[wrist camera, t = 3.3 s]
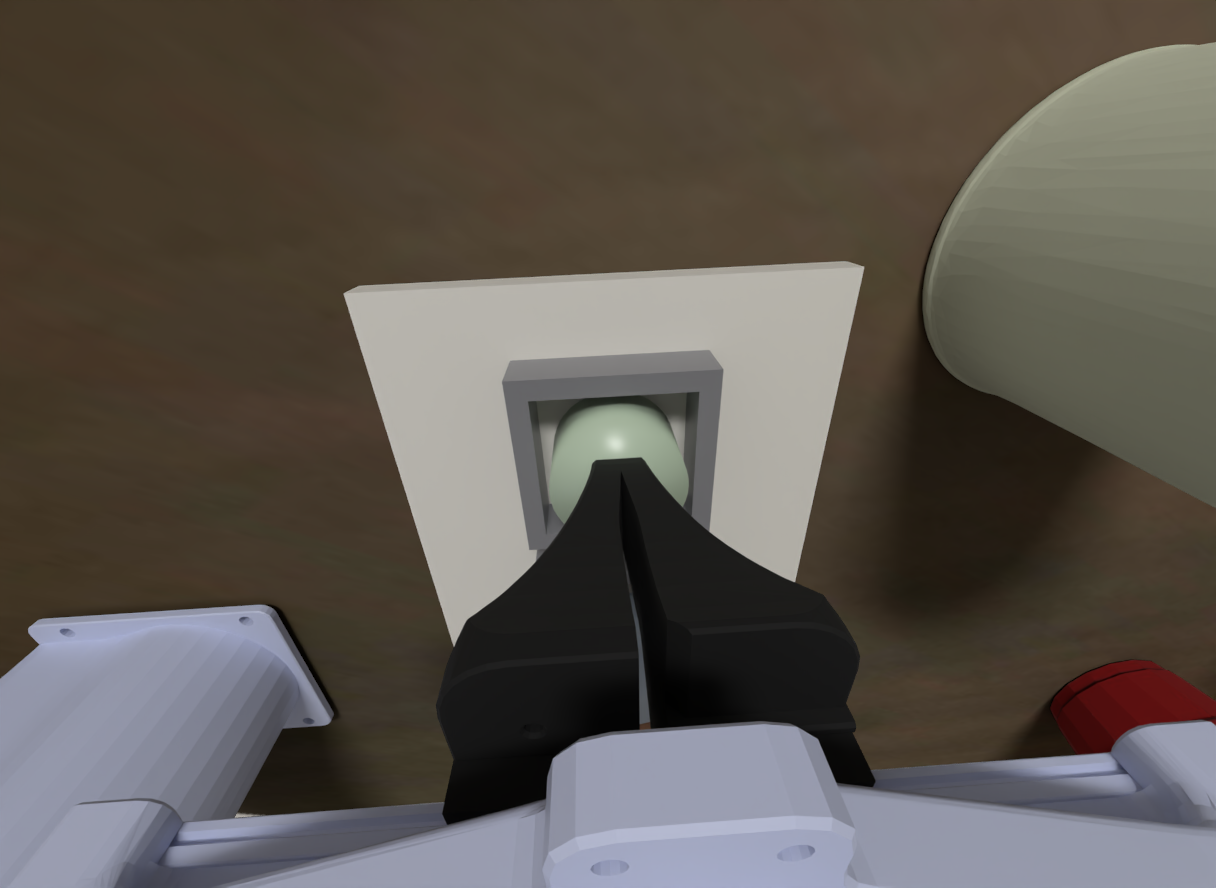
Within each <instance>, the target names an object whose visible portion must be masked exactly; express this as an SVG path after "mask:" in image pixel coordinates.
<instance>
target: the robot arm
mask: <svg viewBox="0 0 1216 888" xmlns="http://www.w3.org/2000/svg"><path fill="white" fill-rule="evenodd" d="M623 551H624V556H625V561H626V565H627V570H628V575H629V580H630V584H631V589H632V594H633V599H634V603H635V608H636V613H637V617H638V623H639V629H640V635H641V643H642V652H643V661H644V670H645V679H646V689H647V698H648V707H649V717H650V727H651V729H644V730H640V708H639V652H638V643H637V635H636V626H635V621H634V616H633V611H632V605H631V600H630V594H629V589H628V582H627V576H626V570H625V563H624V556H623ZM28 632H29V634H30V635H31V636H32V637H33V639H34V640H35V641H36V642H37V643H38V644H39V646H38V647H37V648H36V649H35V650H33V651H32V652H31V653H30V654H29V655H28V656H26V657H25V658H24V659H23V660H22V661H21V662H19V663H18V664H17V665H16V666H15V667H14V668H13V669H11V670H10V671H9V672H8V673H7V674H6V675H4V676H3V677H2V678H1V679H0V888H1216V726H1215V725H1214V724H1213V723H1212V722H1209V721H1205V720H1194V721H1180V722H1167V723H1153V724H1146V725H1141V726H1137V727H1135V728H1133V729H1130V730H1128V731H1127V732H1125V733H1124V734H1123V735H1122V736H1120V738H1119V739H1118V740H1117V741H1116V742H1115V744H1114V745H1113V747H1112V750H1111V752H1108V753H1095V754H1081V755H1068V756H1055V757H1041V758H1028V759H1014V760H1001V761H988V762H974V763H961V764H948V765H934V766H921V767H907V768H894V769H881V770H870V768H869V766H868V764H867V762H866V760H865V757H864V755H863V753H862V751H861V749H860V747H859V745H858V743H857V741H856V739H855V737H854V735H853V733H852V732H855V730H856V724H855V720H854V718H853V716H852V714H851V712H850V710H849V708H848V706H847V704H846V701H847V699H848V696H849V693H850V690H851V688H852V685H853V682H854V679H855V676H856V674H857V671H858V667H859V660H860V655H859V651H858V648H857V645H856V643H855V641H854V640H853V638H852V636H851V634H850V633H849V631H848V629H847V628H846V626H845V624H844V623H843V621H842V620H841V618H840V617H839V615H838V614H837V613H836V611H835V610H834V609H833V608H832V606H831V605H830V604H829V602H828V601H827V599H826V598H825V596H824V595H822V594H820V593H818V592H816V591H813V590H811V589H809V588H806V587H804V586H802V585H800V584H797V583H795V582H793V581H790V580H788V579H786V578H784V577H782V576H780V575H778V574H776V573H774V572H772V571H770V570H768V569H766V568H764V567H762V566H761V565H759V564H757V563H755V562H754V561H752V560H750V559H748V558H747V557H745V556H743V555H742V554H740V553H739V552H737V551H736V550H734V549H733V548H731V547H730V546H728V545H727V544H725V543H724V542H722V541H721V540H720V539H718V538H717V537H715V536H714V535H713V534H712V533H710V532H709V531H708V530H707V529H705V528H704V527H703V526H702V525H701V524H700V523H698V522H697V521H696V520H695V519H694V518H693V517H692V516H691V515H690V514H689V513H688V512H687V511H686V510H685V509H684V508H683V507H682V506H681V505H680V504H679V503H678V502H677V501H676V500H675V499H674V497H673V496H672V495H671V494H670V493H669V492H668V491H667V490H666V488H665V487H664V486H663V485H662V484H661V482H660V481H659V480H658V478H657V477H656V476H655V475H654V473H653V472H652V470H651V469H650V468H649V466H648V465H647V463H646V461H645V460H644V459H643V458H641V457H637V458H620V459H604V460H595V461H594V462H593V463H592V467H591V471H590V475H589V477H588V480H587V483H586V485H585V487H584V490H583V492H582V494H581V496H580V498H579V500H578V502H577V504H576V506H575V508H574V509H573V511H572V513H571V514H570V516H569V518H568V519H567V521H566V523H565V524H564V526H563V527H562V529H561V530H560V532H559V533H558V535H557V536H556V537H555V539H554V540H553V541H552V543H551V544H550V545H549V547H548V548H547V549H546V550H545V551H544V552H543V554H542V555H541V556H540V557H539V558H538V559H537V561H536V562H535V563H534V564H533V565H532V566H531V567H530V568H529V569H528V570H527V571H526V572H525V573H524V574H523V575H522V576H521V577H520V578H519V579H518V580H517V581H516V582H515V583H513V584H512V585H511V586H510V587H509V588H508V589H507V590H506V591H505V592H504V593H502V594H501V595H500V596H499V597H497V598H496V599H495V600H493V601H492V602H491V603H489V604H488V605H487V606H485V607H484V608H483V609H481V610H480V611H478V612H477V613H476V614H474V615H473V616H471V617H470V618H468V619H467V620H466V622H465V624H464V626H463V628H462V630H461V632H460V635H459V637H458V639H457V641H456V643H455V646H454V648H453V651H452V653H451V655H450V658H449V660H448V663H447V666H446V670H445V673H444V677H443V681H442V685H441V688H440V692H439V696H438V700H437V704H436V709H437V716H438V720H439V722H440V725H441V728H442V730H443V733H444V736H445V738H446V741H447V743H448V746H449V749H450V751H451V754H452V756H453V759H454V761H453V766H452V770H451V775H450V780H449V784H448V789H447V793H446V798H445V802H440V803H426V804H413V805H399V806H386V807H373V808H359V809H346V810H333V811H319V812H306V813H292V814H279V815H266V816H252V817H239V818H234V817H235V816H236V814H237V812H238V810H239V808H240V806H241V804H242V803H243V801H244V799H245V797H246V795H247V793H248V792H249V790H250V788H251V786H252V784H253V782H254V780H255V779H256V777H257V775H258V773H259V771H260V769H261V768H262V766H263V764H264V762H265V760H266V758H267V757H268V755H269V753H270V751H271V749H272V747H273V745H274V744H275V742H276V740H277V738H278V736H279V734H280V733H281V731H282V729H283V728H297V727H311V726H323V725H327V724H329V723H330V722H331V720H332V718H333V715H334V713H333V711H332V709H331V707H330V706H329V704H328V702H327V700H326V699H325V697H324V695H323V693H322V692H321V690H320V688H319V686H318V684H317V683H316V681H315V679H314V677H313V676H312V674H311V672H310V670H309V669H308V667H307V665H306V663H305V662H304V660H303V658H302V656H301V655H300V653H299V651H298V649H297V648H296V646H295V644H294V642H293V641H292V639H291V637H290V635H289V634H288V632H287V630H286V628H285V626H284V625H283V623H282V621H281V619H280V618H279V616H278V614H277V612H276V611H275V610H274V609H273V608H271V607H270V606H267V605H247V606H232V607H217V608H201V609H186V610H171V611H155V612H140V613H125V614H109V615H94V616H78V617H63V618H48V619H40V620H38V621H36V622H35V623H34V624H33V625H32V626H30V627H29V628H28Z"/></svg>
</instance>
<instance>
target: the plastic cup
mask: <svg viewBox="0 0 1216 888" xmlns="http://www.w3.org/2000/svg"><path fill="white" fill-rule="evenodd" d="M1050 709H1051V712H1052V714H1053V717H1054V718H1055V720H1056V721H1057V724H1058V726H1059V729H1060V731H1061V732H1062V734H1063V735H1064V737H1065V738H1066V740H1067V741H1068V743H1069V744H1070V746H1071V747H1072V749H1073V750H1074V752H1075V753H1076V755H1081V754H1095V753H1108V752H1111V750H1112V747H1113V745H1114V744H1115V742H1116V741H1117V740H1118V739H1119V738H1120V736H1122V735H1123V734H1124V733H1125V732H1127V731H1128V730H1130V729H1133V728H1135V727H1137V726H1141V725H1146V724H1153V723H1167V722H1180V721H1194V720H1205V721H1209V722H1212V723H1213V724H1214V725H1215V726H1216V701H1215V700H1213V699H1212V698H1210V697H1209V696H1207V695H1206V694H1204V693H1203V692H1201V691H1200V690H1198V689H1197V688H1195V687H1194V686H1193V685H1191V684H1190V683H1188V682H1187V681H1185V680H1184V679H1182V678H1181V677H1179V676H1177V675H1176V674H1174V673H1172V672H1170V671H1169V670H1165V669H1164V668H1162V667H1160V666H1159V665H1157V664H1155V663H1153V662H1152V661H1142V660H1129V661H1124V662H1118V663H1113V664H1109V665H1106V666H1103V667H1101V668H1098V669H1095V670H1093V671H1090V672H1087V673H1086V674H1084V675H1082V676H1080V677H1079V678H1077V679H1075V680H1074V681H1072V682H1070V683H1069V684H1067V685H1066V686H1065V687H1064V688H1063V689H1062V690H1061V691H1060V692H1059V693H1058V694H1057V695H1056V696H1055V697H1054V700H1053V702H1052V705H1051V707H1050Z"/></svg>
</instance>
